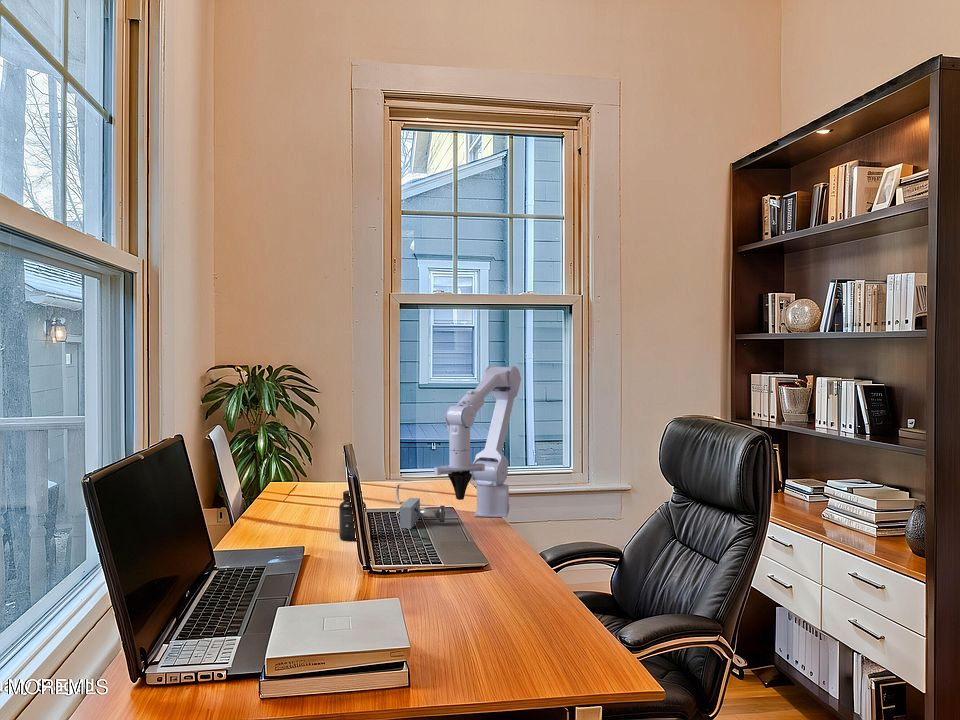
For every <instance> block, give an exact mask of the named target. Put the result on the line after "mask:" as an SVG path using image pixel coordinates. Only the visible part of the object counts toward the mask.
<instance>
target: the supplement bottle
mask: <svg viewBox="0 0 960 720" xmlns="http://www.w3.org/2000/svg"><path fill="white" fill-rule="evenodd" d="M349 490H350V489H348V490H344V491H343V492H342V500H343V501H342V502H341V503H340V504H339V506H338V518H339V519H338V520H339V521H338V522H339V523H338V525H339V526H338V527H339V529H338V531H339V539H340V540H342V541H345V542H357V541H356V538H355V528H354V521H353V514H352V507H351V502H350V496H349ZM360 491H361V493H362V494H363V491H362V490H360ZM363 504H364V508H365V512H366V513H367V504H366V503H365V502H364V501H363Z"/></svg>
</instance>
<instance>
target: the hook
mask: <svg viewBox="0 0 960 720" xmlns="http://www.w3.org/2000/svg"><path fill="white" fill-rule="evenodd" d="M400 486H401V487H402V486H403V484H402V483H401V482H399V483H397V484H396V489H395V498H396V503H397V504H398V503H401V501H400V496H399V495H400V494H399V492H400V491H399V490H400ZM404 503H405V502H402V503H401V506H402V505H403V504H404ZM420 509H426V508H424V507H420ZM399 512H400V509H398V510H397V511H396V514H397V513H399Z"/></svg>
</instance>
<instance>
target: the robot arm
mask: <svg viewBox="0 0 960 720" xmlns="http://www.w3.org/2000/svg"><path fill="white" fill-rule="evenodd" d="M482 377H483V378H482V380H481V381H480V382H479V384H478V385H477V386H476V388H475V389H471V390H467V391H466V392H465V394H464V395H463V396H462V398H461V399H460V400H459V401H458V402H457V403H456V404H455V405H451V406H450V407H448V408H447V410H446V412H445V416H444V421H445V424H446V427H447V429H446V431H447V433H448V434H449V435H448V436H449V440H448V441H449V442H448V443H449V444H448V446H449V449H448V450H449V451H448V452H449V454H448V455H449V459H448V460H449V461H448V462H449V464H448V465H441V466H434V475H435V476H441V475H447V476H448V478H449V480H450V482H451V485H452V486H453V487H452V488H453V490H454V493H455V494H454V495H455V499H456V500H459V501H463V500H464V499H465V494H466V491H467V488H468V485H469V483H470V481H471V479H472V480H473V481H474V484H475V485H476V511H475V512H474V514H473V517H480V518H481V517H485V518H486V517H487V518H488V517H489V518H507V517H508V515H509V513H510V512H509V511H510V501H509V500H510V495H509V493H510V489H509V484H505V482H506V480H507V479H508V476H509V475H508V473H509V469H508V467H509V460H508V458H507V457H506V456H505V455H504V453H503V449H504V445H505V441H506V436H507V433H508V427H509V424H510V420H511V419H510V418H511V415H512V414H511V413H512V410H513V407H514V401H515V398H516V397H518V394H519V389H520V385H521V381H522V378H521V373H520V370H519V368H518V367H516V366H515V365H514V366H492V365H491V366H490V365H488V366H487V367H486V368H485V369H484V371H483V372H482ZM489 394H490V395H491V396H492V397H494V398H495V405H494V409H493V413H492V417H491V422H490V425H489V429H488V434H487V437H486V442H485V445H484V449H483V450H481V451H479V452H478V453H476V454H475V457H474V460H473V462H472V463H471V427H472V426H473V425H474V422H475V418H476V415H477V413H478V412H479V411H480V409H482V407H483V406H484V404H485V398H486V397H487V396H488V395H489Z"/></svg>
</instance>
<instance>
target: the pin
mask: <svg viewBox="0 0 960 720" xmlns="http://www.w3.org/2000/svg"><path fill="white" fill-rule="evenodd" d="M414 518H420V519H438V520H439V523H445V520H446V506H445V505H440V506H439V509H436V508H435V509H433V508H431V509H430V508H429V509H428V508H425V509H414Z"/></svg>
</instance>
